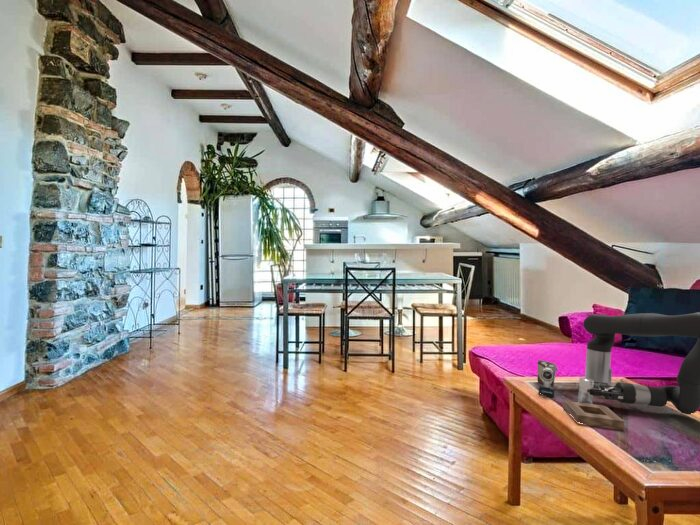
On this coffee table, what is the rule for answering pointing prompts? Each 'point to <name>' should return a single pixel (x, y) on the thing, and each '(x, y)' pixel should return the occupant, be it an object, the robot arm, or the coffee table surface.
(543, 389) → the watch
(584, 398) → the ribbed metal cylinder
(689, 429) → the coffee table surface
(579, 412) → the walnut socket block
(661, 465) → the coffee table surface
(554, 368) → the food container
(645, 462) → the coffee table surface
